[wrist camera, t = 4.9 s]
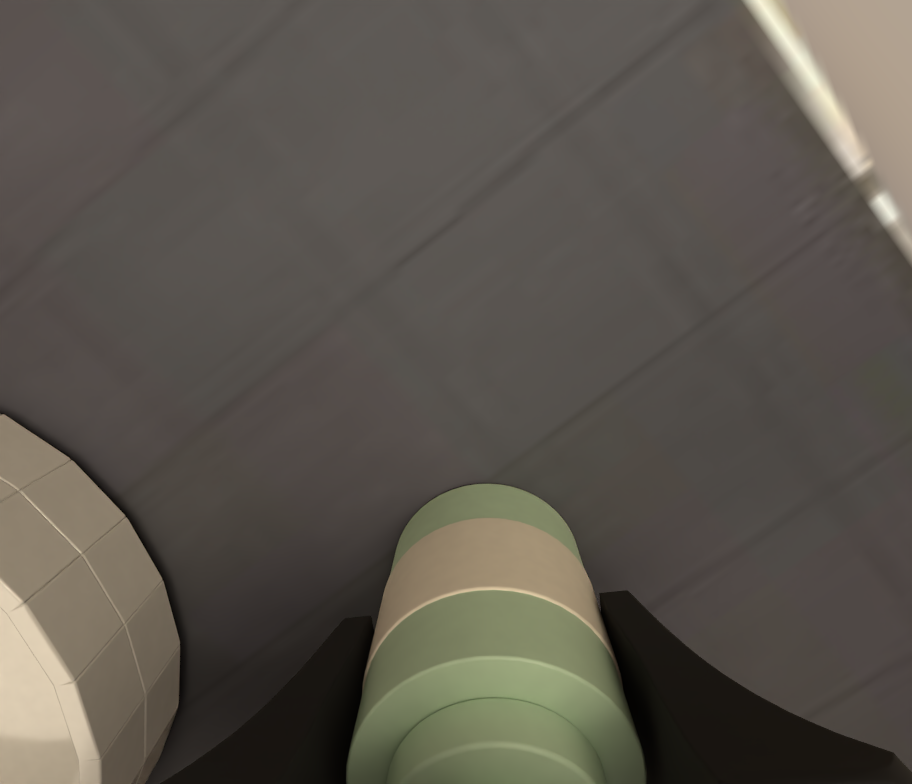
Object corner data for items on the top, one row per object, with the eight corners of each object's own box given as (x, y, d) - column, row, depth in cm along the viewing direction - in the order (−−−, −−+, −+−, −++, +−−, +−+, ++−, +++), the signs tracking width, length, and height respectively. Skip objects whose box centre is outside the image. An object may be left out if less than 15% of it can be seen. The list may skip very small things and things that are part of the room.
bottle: (573, 470, 17) (711, 810, 7) (588, 642, 18) (723, 1128, 8) (379, 491, 17) (255, 846, 7) (407, 659, 18) (333, 1149, 9)
